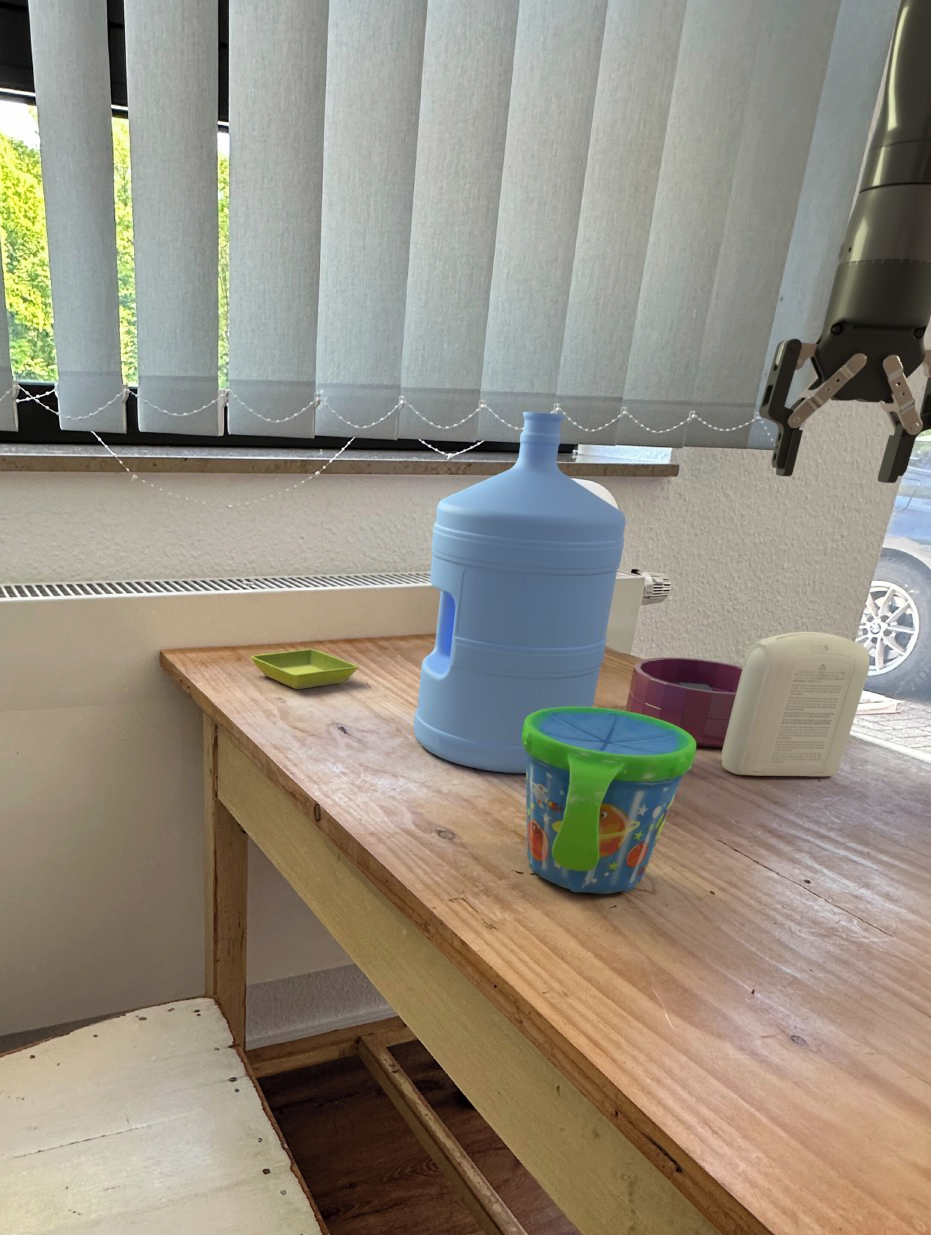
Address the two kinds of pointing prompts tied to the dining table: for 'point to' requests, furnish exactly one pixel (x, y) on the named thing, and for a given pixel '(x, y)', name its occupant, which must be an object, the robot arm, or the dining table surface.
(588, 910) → the dining table surface
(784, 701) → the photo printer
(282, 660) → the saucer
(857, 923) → the dining table surface
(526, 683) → the water jug
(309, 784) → the dining table surface
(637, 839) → the snack cup
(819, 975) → the dining table surface
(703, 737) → the bowl
